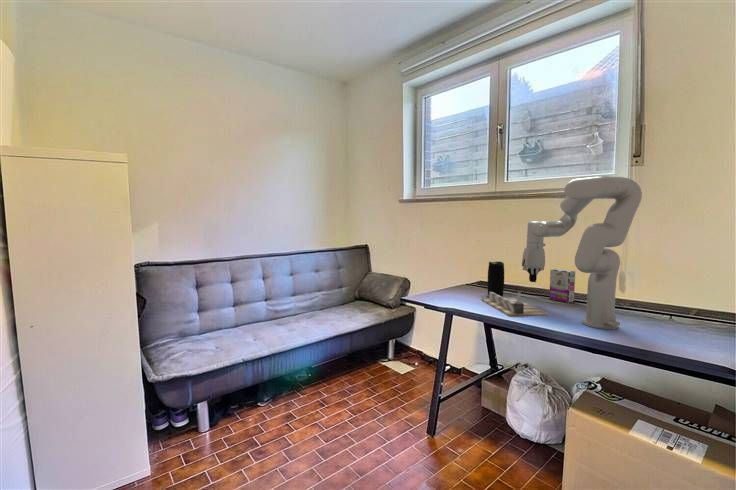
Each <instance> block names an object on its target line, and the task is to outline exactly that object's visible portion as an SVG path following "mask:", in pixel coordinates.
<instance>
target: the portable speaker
mask: <svg viewBox="0 0 736 490" xmlns="http://www.w3.org/2000/svg"><path fill="white" fill-rule="evenodd" d="M504 289H505V263H504V262H503V261H489V262H488V268H487V296H488V297H489V292H493V293H495V294H498V295H500V296H502V297H504V291H505V290H504Z"/></svg>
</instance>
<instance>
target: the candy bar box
mask: <svg viewBox="0 0 736 490" xmlns="http://www.w3.org/2000/svg"><path fill="white" fill-rule="evenodd" d="M549 276H550V277H549V299H550V298H551V299H550V300H553V299H555V300H554V301H557V300H559V301H558V302H563V303H567V304H569V303H570V302H571V303H574V302H575V287H576V286H575V284H576V271H575V270H567V269H562V268H561V269H560V268H551V269H550V274H549ZM573 301H574V302H573Z"/></svg>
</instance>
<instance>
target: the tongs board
mask: <svg viewBox="0 0 736 490" xmlns="http://www.w3.org/2000/svg"><path fill="white" fill-rule="evenodd" d="M481 301H482V302H484V303H486V304H487V305H489V306H491V307H492V308H493V309H496V310H497V311H499V312H501V313H502V314H504V315H506V316H507V317H532V316H533V317H534V316H535V317H536V316H537V317H538V316H539V317H540V316H543V317H544V316H548V312H546V311H543V310H542V309H539V308H538V307H535V306H533V305H530V304H529V303H527V302H524V301H522V300H520V303H516V301H517V297H516V298H515V297H504V296H503V297H502V296H500V295H498V294H495V293H493V292H489V296H488V298H481Z"/></svg>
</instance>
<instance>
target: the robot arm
mask: <svg viewBox="0 0 736 490" xmlns="http://www.w3.org/2000/svg"><path fill="white" fill-rule="evenodd" d="M563 191H564V195H565V198H564V199H563V200H562V201H561V202H560V205H559V207H560V209H561V211H562V212H563V213H564V214H563V215H562V216H561V217H560V218H559V219H558V220H548V221H547V220H546V221H540V220H531V221H529V222H527V230H526V231H527V232H526V233H527V234H526V247H525V248H524V249H523V253H522V257H521V258H522V259H521V267H522V270H523V271H526V272H527V273H528V276H529V277H528V279H529V282H530V283H536V282H537V278H538V276H537V275H538V274H539V273H540V272H541V271H544V270H545V267H546V252H545V248H544V247H545V246H546V243H545V242H544V238H553V237H555V238H556V237H562V236H564V235H566V234H567V233H568V232H569V231H570V230H571V229H573V227H574V226H575V225H576V222H577V220H578V216H579V214H580V213H581V212H583V210H584V209H585V208H586V207H587V206H588V205H589V204H590V203H592V201H594V200H596V199H597V200H599V199H601V200H604V199H605V200H612V199H613V200H615V201H614V202H613V204H611V206H610V207H609V208H608V210H607V213H606V216H605V218H604V221H603V222H598V223H597V222H596V223H593V224H590V225H589V226H587V227H586V229H584V231H583V233H582V234H581V235H582V236H581V238H580V241H579V243H578V247H577V250H576V252H575V256H574V266H575V267H576V269H577V270H578V271H579V272H581V273H583V274H584V273H585V274H589V276H588V280H587V291H586V293H587V295H586V311H585V312H586V313H585V314H586V315H585V317H583V318H581V324H583V325H585V326H587V327H591V328H595V329H602V330H616V329H618V328H619V326H620V325H621V322H619V321H617V317H616V316H615V310H616V309H615V307H616V290H617V280H618V279H617V278H618V274H619V273H618V272H619V270H620V266H621V258H620V255H619V253H617V252H616V251H615V250H614V249H610V248H615V247H619V246H622V244H623V243H625V240H626V239H627V238H626V237H628V236H627V235H628V233H629V230H630V227H631V225H632V222H633V220H634V218H635V215H636V213H637V211H638V208H639V206H640V204H641V201H642V197H643V193H642V188H641V186H640V185H639V184H638V182H637V181H635V180H633V179H631V178H628V177H624V176H606V175H604V176H600V175H599V176H592V177H582V178H575V179H574V178H573V179H571V180H570V181H568V182H567V183H566V185H565V186H564V190H563Z"/></svg>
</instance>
